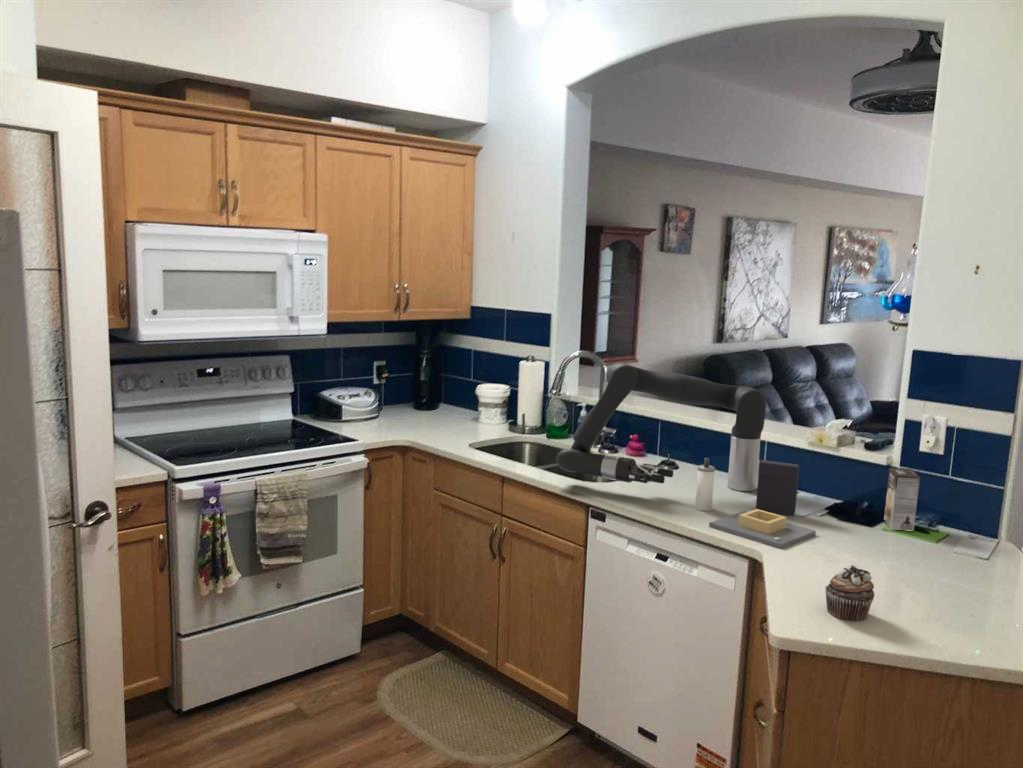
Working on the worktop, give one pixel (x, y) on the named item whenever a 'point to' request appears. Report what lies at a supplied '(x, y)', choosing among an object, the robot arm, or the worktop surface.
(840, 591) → the cupcake
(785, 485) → the dark grey upright panel
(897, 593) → the worktop surface
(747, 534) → the socket dock
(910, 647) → the worktop surface
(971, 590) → the worktop surface
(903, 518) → the coffee box
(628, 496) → the worktop surface
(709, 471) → the white cylindrical bottle
